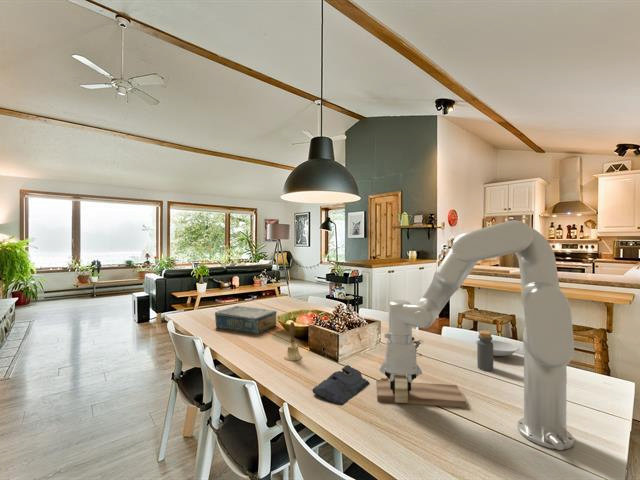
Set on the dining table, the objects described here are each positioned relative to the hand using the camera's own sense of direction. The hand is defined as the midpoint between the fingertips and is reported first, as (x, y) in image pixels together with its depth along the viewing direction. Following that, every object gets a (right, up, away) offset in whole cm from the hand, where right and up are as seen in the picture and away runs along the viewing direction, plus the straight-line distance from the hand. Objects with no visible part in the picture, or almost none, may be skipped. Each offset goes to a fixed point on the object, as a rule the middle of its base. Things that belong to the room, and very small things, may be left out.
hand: (400, 391), depth 105 cm
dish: (+54, -2, +38) cm, 66 cm away
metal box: (-73, -3, +87) cm, 113 cm away
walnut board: (+7, -3, +2) cm, 8 cm away
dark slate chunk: (-20, -4, +9) cm, 22 cm away
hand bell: (-39, -3, +38) cm, 55 cm away
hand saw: (0, -3, +22) cm, 22 cm away
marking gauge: (0, -2, +2) cm, 3 cm away
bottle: (+41, -2, +24) cm, 48 cm away
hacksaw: (+20, -3, +50) cm, 54 cm away
